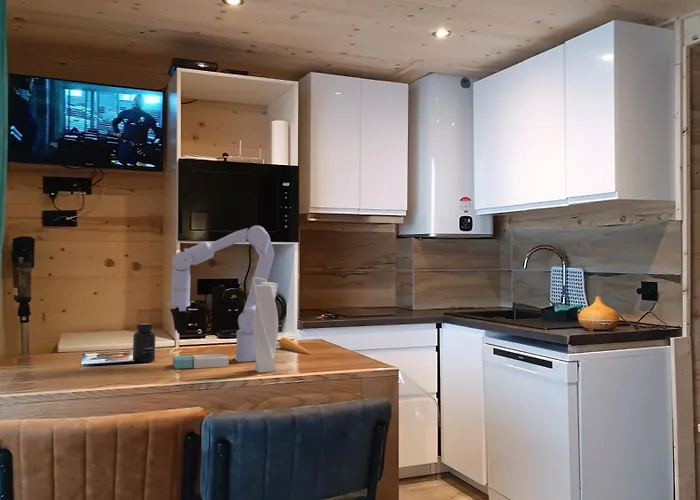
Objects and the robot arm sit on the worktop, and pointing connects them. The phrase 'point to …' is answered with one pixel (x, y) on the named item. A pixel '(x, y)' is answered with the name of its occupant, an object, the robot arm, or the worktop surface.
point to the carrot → (291, 346)
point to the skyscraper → (265, 326)
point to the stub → (182, 362)
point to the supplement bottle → (144, 343)
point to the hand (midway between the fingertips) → (179, 331)
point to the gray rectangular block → (209, 360)
